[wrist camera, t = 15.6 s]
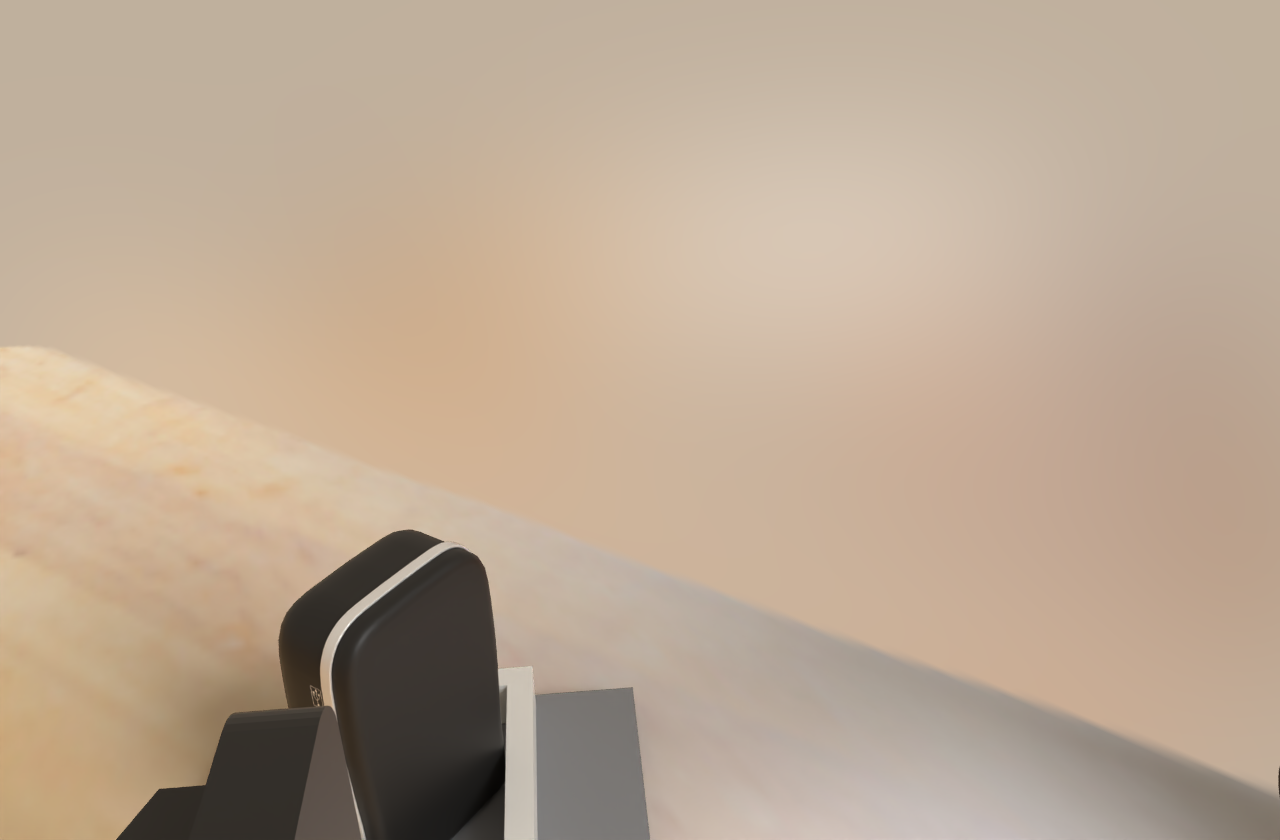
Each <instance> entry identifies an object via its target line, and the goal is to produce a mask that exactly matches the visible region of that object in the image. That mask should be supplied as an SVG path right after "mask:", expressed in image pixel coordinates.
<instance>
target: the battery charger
mask: <svg viewBox="0 0 1280 840" xmlns="http://www.w3.org/2000/svg"><path fill="white" fill-rule="evenodd" d="M279 657H280V664H281V670H282V676H283V682H284V688H285V693H286V698H287V703H288V708H289V709H291V708H304V707H316V706H331V707H332V709H333V710H334V712H335V715H336V718H337V722H338V726H339V731H340V736H341V740H342V745H343V750H344V755H345V760H346V765H347V770H348V775H349V780H350V785H351V789H352V794H353V799H354V804H355V809H356V814H357V819H358V824H359V829H360V833H361V839H362V840H451V839H452V838H453V837H454V836H455V835H456V834H457V833H458V832H459V831H460V830H461V829H462V827H463V826H464V825H465V824H466V823H467V822H468V821H469V820H470V819H471V818H472V817H473V816H474V815H475V814H476V813H477V812H478V811H479V810H480V809H481V808H482V807H483V806H484V804H485V803H486V802H487V801H488V800H489V799H490V798H491V797H492V796H493V795H494V794H495V793H496V792H497V791H498V789H499V788H500V787H501V786H502V785H503V784H504V783H505V773H506V757H505V750H504V741H503V733H502V723H501V711H500V692H499V677H498V663H497V650H496V639H495V629H494V621H493V612H492V605H491V598H490V591H489V584H488V578H487V575H486V571H485V567H484V566H483V564H482V562H481V561H480V559H479V558H478V557H477V556H476V555H475V554H473V553H471V551H470V550H469V549H468V548H466V547H465V546H463V545H460V544H458V543H455V542H444V541H441V540H439V539H436V538H434V537H431V536H429V535H426V534H424V533H421V532H418V531H414V530H403V531H397V532H393V533H391V534H389V535H387V536H385V537H384V538H382V539H380V540H379V541H377V542H376V543H375V544H373V545H372V546H370V547H369V548H367V549H366V550H364V551H363V552H361V553H360V554H358V555H357V556H355V557H354V558H352V559H351V560H349V561H348V562H346V563H345V564H344V565H342V566H341V567H340V568H338V569H337V570H336V571H334V572H333V573H332V574H330V575H329V576H328V577H326V578H325V579H323V580H322V581H321V582H319V583H318V584H317V585H315V586H314V587H313V588H311V589H310V590H309V591H307V592H306V593H305V594H304V595H303V596H302V597H301V598H299V599H298V600H297V601H296V602H295V603H294V604H293V606H292V607H291V608H290V609H289V611H288V612H287V613H286V615H285V617H284V620H283V622H282V624H281V629H280V635H279Z"/></svg>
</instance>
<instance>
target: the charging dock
mask: <svg viewBox="0 0 1280 840" xmlns="http://www.w3.org/2000/svg"><path fill="white" fill-rule="evenodd" d="M498 677H499V692H500V711H501V723H502V733H503V741H504V750H505V757H506V773H505V783H504V784H503V785H502V786H501V787H500V788H499V789H498V791H497V792H496V793H495V794H494V795H493V796H492V797H491V798H490V799H489V800H488V801H487V802H486V803H485V804H484V806H483V807H482V808H481V809H480V810H479V811H478V812H477V813H476V814H475V815H474V816H473V817H472V818H471V819H470V820H469V821H468V822H467V823H466V824H465V825H464V826H463V827H462V829H461V830H460V831H459V832H458V833H457V834H456V835H455V836H454V837H453V838H452V839H451V840H650V835H649V826H648V817H647V809H646V800H645V791H644V783H643V774H642V765H641V756H640V748H639V739H638V730H637V722H636V713H635V704H634V696H633V687H632V688H619V689H606V690H593V691H580V692H568V693H555V694H542V695H535V688H534V677H533V666H526V667H513V668H500V669H498Z"/></svg>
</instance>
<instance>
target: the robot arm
mask: <svg viewBox="0 0 1280 840" xmlns="http://www.w3.org/2000/svg"><path fill="white" fill-rule="evenodd" d="M1279 795H1280V768H1279ZM116 840H362V839H361V833H360V829H359V824H358V819H357V814H356V809H355V804H354V799H353V794H352V789H351V785H350V780H349V775H348V770H347V765H346V760H345V755H344V750H343V745H342V740H341V736H340V731H339V726H338V722H337V718H336V715H335V712H334V710H333V709H332V707H331V706H316V707H304V708H291V709H278V710H265V711H252V712H239V713H233V714H231V715H230V717H229V718H228V719H227V721H226V723H225V725H224V728H223V731H222V734H221V737H220V740H219V743H218V747H217V750H216V753H215V756H214V760H213V763H212V766H211V769H210V773H209V776H208V779H207V783H206V785H203V786H191V787H179V788H166V789H159V790H158V791H157V792H156V793H155V794H154V796H153V797H152V798H151V799H150V800H149V802H148V803H147V804H146V805H145V806H144V807H143V809H142V810H141V811H140V812H139V813H138V815H137V816H136V817H135V818H134V819H133V820H132V822H131V823H130V824H129V825H128V826H127V827H126V829H125V830H124V831H123V832H122V833H121V835H120V836H119V837H118V838H117V839H116Z"/></svg>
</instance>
